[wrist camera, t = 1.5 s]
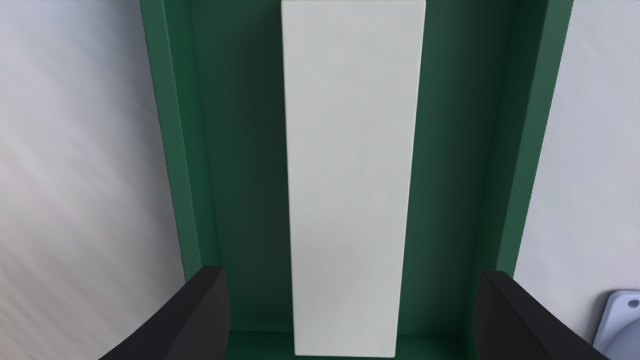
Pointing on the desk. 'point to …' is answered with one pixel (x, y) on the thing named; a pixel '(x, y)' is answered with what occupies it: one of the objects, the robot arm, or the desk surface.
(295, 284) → the white block
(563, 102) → the desk surface
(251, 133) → the green tray
